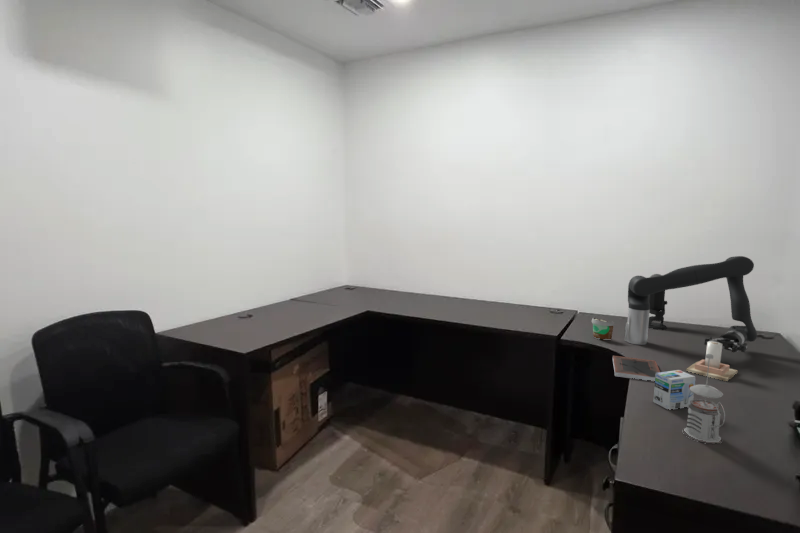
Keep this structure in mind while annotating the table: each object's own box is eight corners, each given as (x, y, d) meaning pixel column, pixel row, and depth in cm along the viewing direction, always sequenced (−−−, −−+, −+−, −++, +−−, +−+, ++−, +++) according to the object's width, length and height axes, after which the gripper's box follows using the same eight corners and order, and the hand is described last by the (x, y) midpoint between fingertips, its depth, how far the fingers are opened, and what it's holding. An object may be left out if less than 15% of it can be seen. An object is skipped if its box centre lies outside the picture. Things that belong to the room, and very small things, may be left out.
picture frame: (662, 384, 170) (655, 365, 189) (662, 377, 169) (655, 360, 189) (614, 377, 176) (612, 360, 196) (615, 371, 176) (612, 355, 195)
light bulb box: (668, 410, 146) (671, 379, 145) (652, 402, 152) (654, 372, 151) (693, 406, 149) (696, 376, 148) (676, 398, 155) (679, 369, 154)
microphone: (661, 324, 254) (665, 272, 250) (671, 329, 242) (676, 276, 238) (637, 323, 256) (641, 272, 252) (647, 329, 244) (651, 275, 240)
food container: (585, 336, 231) (586, 317, 230) (593, 334, 233) (594, 316, 232) (605, 342, 220) (606, 323, 218) (613, 341, 222) (614, 321, 221)
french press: (706, 427, 135) (713, 348, 132) (736, 447, 124) (745, 361, 120) (674, 427, 135) (681, 348, 132) (701, 448, 123) (710, 362, 120)
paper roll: (702, 368, 180) (705, 342, 179) (706, 366, 183) (709, 340, 182) (717, 372, 176) (720, 345, 175) (721, 369, 180) (724, 343, 178)
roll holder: (686, 371, 181) (686, 363, 180) (697, 363, 190) (698, 356, 189) (727, 381, 170) (727, 373, 170) (737, 373, 179) (738, 365, 179)
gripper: (713, 328, 200) (701, 335, 190) (752, 335, 189) (742, 342, 179) (712, 344, 201) (700, 351, 191) (751, 352, 190) (740, 360, 180)
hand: (720, 347), depth 185 cm, fingers open, 8 cm apart
